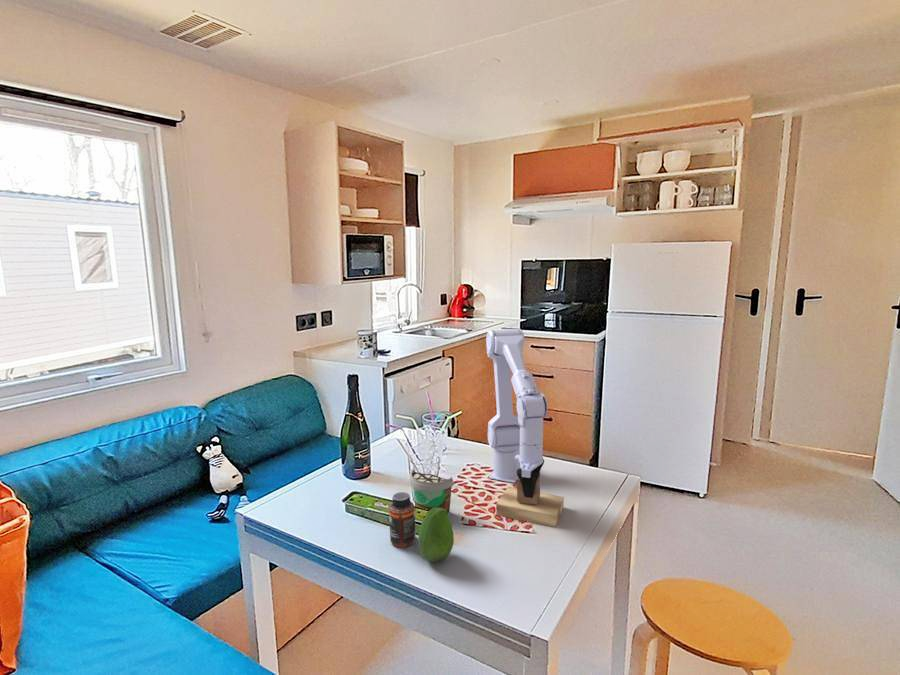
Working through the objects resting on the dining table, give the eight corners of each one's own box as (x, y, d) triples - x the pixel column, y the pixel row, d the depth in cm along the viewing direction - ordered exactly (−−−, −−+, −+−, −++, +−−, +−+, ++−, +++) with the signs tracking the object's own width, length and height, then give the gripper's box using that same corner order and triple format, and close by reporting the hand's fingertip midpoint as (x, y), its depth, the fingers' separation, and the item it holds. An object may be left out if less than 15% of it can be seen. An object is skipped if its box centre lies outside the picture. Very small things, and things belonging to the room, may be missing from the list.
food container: (401, 513, 127) (399, 477, 125) (413, 502, 132) (412, 467, 131) (443, 525, 121) (442, 487, 120) (454, 513, 127) (453, 477, 125)
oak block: (508, 496, 135) (508, 486, 134) (563, 507, 129) (563, 496, 128) (496, 514, 126) (496, 504, 125) (555, 527, 120) (555, 515, 119)
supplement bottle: (420, 537, 117) (419, 492, 115) (407, 551, 111) (405, 504, 109) (398, 531, 119) (397, 487, 117) (385, 544, 114) (383, 499, 112)
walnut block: (520, 492, 130) (520, 471, 129) (540, 495, 128) (539, 473, 127) (517, 501, 125) (516, 479, 124) (537, 504, 124) (536, 482, 122)
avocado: (461, 561, 107) (460, 510, 105) (430, 574, 103) (428, 521, 101) (441, 543, 114) (440, 495, 112) (411, 555, 110) (410, 505, 108)
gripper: (520, 429, 132) (520, 477, 134) (509, 450, 118) (509, 503, 121) (547, 432, 130) (546, 480, 132) (539, 454, 116) (538, 507, 118)
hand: (530, 491), depth 126 cm, fingers closed on walnut block, 5 cm apart
